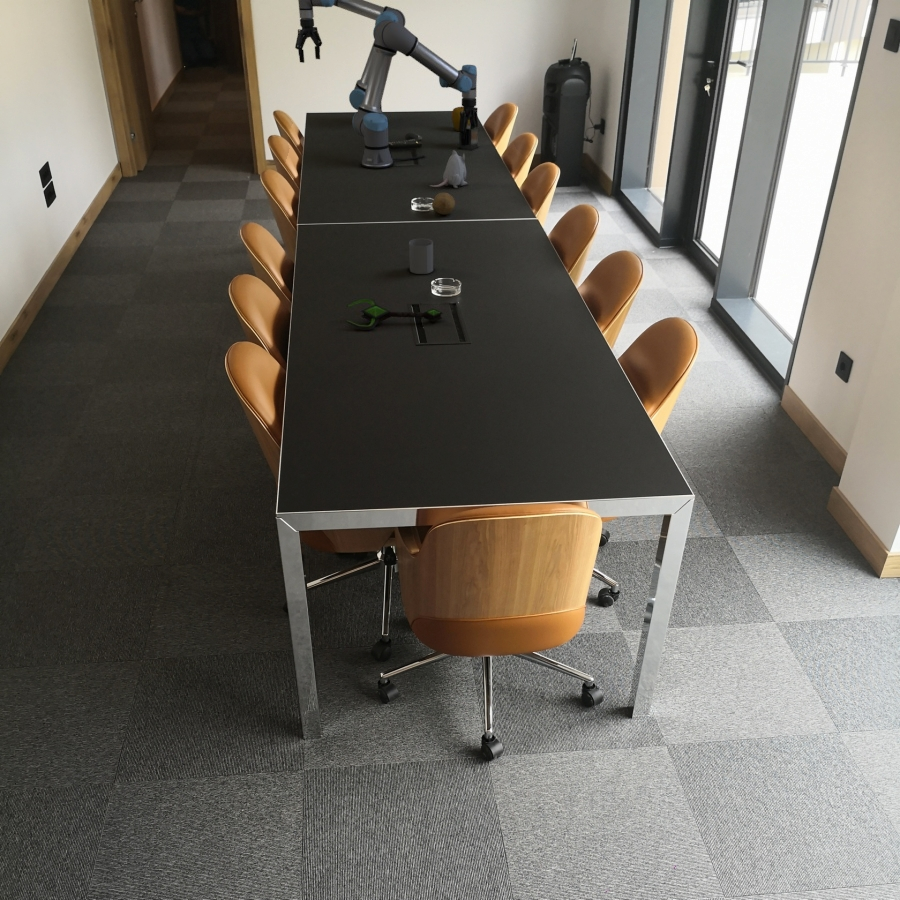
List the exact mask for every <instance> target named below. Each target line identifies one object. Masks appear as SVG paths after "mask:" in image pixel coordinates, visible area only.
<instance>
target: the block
mask: <svg viewBox="0 0 900 900" xmlns="http://www.w3.org/2000/svg"><path fill="white" fill-rule="evenodd" d="M458 132H459V131H458ZM466 133H467V146H463V145H461V139H462V138H461V132H459V134H458V135H459V137H458V139H459V141H458V142H459V143H458V146H459V147H458V149H461V150H467V151H473V150H475V149H478V146H479V145H478V143H479V140H478V138H479V126H478V127H475V126H471V125H469V126H468V125H467V129H466Z"/></svg>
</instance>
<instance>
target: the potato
mask: <svg viewBox="0 0 900 900" xmlns="http://www.w3.org/2000/svg"><path fill="white" fill-rule="evenodd" d="M455 206H456V200H455V198H454V196H452V195H451V194H449V193H448V192H439V193H437V194H436V195H435V197H434V198H433V200H432V201H431V207H432V209H433V210H434V212H436V213H437V214H439V215H441V216H442V215H449V214H450V213H452V212H453V211H454V209H455Z"/></svg>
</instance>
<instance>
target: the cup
mask: <svg viewBox="0 0 900 900" xmlns="http://www.w3.org/2000/svg"><path fill="white" fill-rule="evenodd" d="M408 253H409V272H411V273H412V274H416V275H426V274H430V273H432V272H434V241H433V240H431V239H428V238H422V237H421V238H420V237H419V238H414V239H411V240H410V241H409V242H408Z"/></svg>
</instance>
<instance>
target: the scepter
mask: <svg viewBox="0 0 900 900" xmlns="http://www.w3.org/2000/svg"><path fill="white" fill-rule="evenodd" d="M360 303H368V304H370V305H371V306H369V307H367V308H364V309H362V310H360V312H361V313H362V315H361V317H362V318H363V319H366V320H367V321H369V322H370V324H368V325H361V324H357V323H355V322H353V321H350V320H345V322H346V323H347V324H349V325H351V326H352V327H354V328H355V329H358V330H366V331H367V330H369V331H370V330H374V328H375V327H376V325H377V324H380V323H381V322H384V321H386V320H388V319H390V318H412V319H413V318H416V319H417V318H418V319H421V318H423V319H425V320H427V321H429V322H433V323H435V322H437V321H440V320H442V319H443V317H442V314H443V312H442V311H440V310H437V309H435V308H431V309H429V310H426V311H424V312H422V311H418V312H413V311H409V312H408V311H391V310H389V309H387V308H385V307H383V306H381V305H380V304H377V302H376V301H375V300H374V299H373V298H359V299H356V300H354V301H352V302H350V303H348V304H346V307H352V306H355V305H357V304H360Z"/></svg>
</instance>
